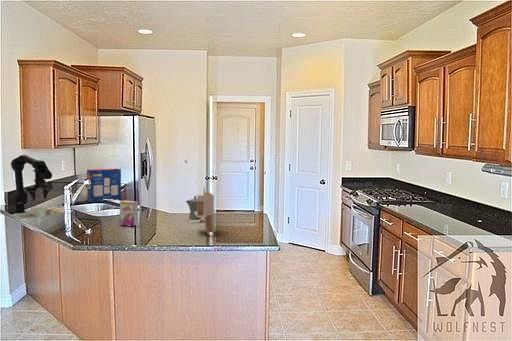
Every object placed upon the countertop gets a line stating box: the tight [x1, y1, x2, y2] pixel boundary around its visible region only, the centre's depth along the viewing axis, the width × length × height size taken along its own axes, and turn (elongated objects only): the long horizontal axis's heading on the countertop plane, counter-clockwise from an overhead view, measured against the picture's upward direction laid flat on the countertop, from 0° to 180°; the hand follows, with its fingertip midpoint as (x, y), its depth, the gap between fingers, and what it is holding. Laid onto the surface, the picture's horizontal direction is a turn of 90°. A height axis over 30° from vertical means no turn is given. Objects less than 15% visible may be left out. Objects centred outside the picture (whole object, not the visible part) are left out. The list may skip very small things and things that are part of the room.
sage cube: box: [33, 208, 46, 218], centre depth 307 cm, size 5×5×5 cm
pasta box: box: [86, 168, 122, 203], centre depth 384 cm, size 28×8×28 cm, turn 135°
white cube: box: [30, 206, 43, 215], centre depth 315 cm, size 5×5×5 cm
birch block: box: [44, 206, 65, 216], centre depth 319 cm, size 10×10×4 cm
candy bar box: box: [119, 200, 139, 226], centre depth 280 cm, size 11×5×16 cm, turn 71°
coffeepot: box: [185, 195, 202, 220], centre depth 300 cm, size 15×9×18 cm, turn 107°
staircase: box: [194, 187, 215, 234], centre depth 265 cm, size 10×16×29 cm, turn 16°
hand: (39, 199), depth 307 cm, fingers open, 9 cm apart
